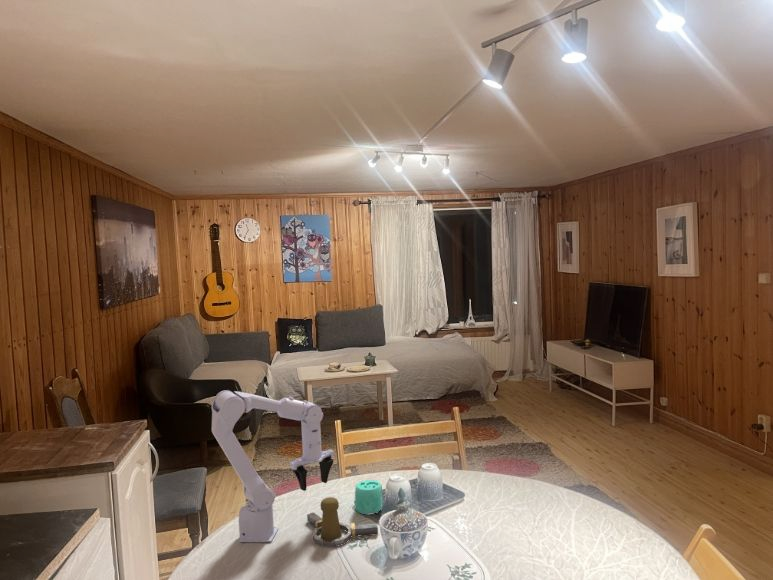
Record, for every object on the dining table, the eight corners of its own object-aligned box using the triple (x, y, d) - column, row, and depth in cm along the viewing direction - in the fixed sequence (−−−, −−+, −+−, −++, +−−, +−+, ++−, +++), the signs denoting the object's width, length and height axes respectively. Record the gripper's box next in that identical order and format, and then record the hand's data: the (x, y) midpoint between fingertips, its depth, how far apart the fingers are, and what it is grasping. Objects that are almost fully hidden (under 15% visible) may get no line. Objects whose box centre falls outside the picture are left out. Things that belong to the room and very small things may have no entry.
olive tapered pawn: (319, 542, 158) (317, 504, 157) (321, 531, 164) (319, 495, 164) (341, 541, 158) (339, 503, 158) (342, 530, 164) (340, 494, 164)
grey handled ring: (296, 547, 156) (296, 538, 156) (308, 519, 172) (308, 511, 172) (376, 546, 155) (375, 537, 154) (380, 518, 171) (380, 510, 170)
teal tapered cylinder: (358, 504, 181) (357, 479, 181) (382, 503, 181) (381, 479, 180) (355, 515, 173) (354, 490, 173) (381, 515, 173) (380, 489, 173)
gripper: (298, 451, 163) (300, 497, 164) (338, 439, 172) (340, 482, 173) (285, 446, 168) (288, 490, 169) (325, 434, 178) (327, 476, 179)
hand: (314, 485), depth 172 cm, fingers open, 7 cm apart
